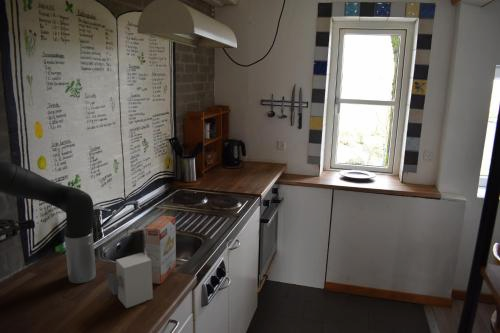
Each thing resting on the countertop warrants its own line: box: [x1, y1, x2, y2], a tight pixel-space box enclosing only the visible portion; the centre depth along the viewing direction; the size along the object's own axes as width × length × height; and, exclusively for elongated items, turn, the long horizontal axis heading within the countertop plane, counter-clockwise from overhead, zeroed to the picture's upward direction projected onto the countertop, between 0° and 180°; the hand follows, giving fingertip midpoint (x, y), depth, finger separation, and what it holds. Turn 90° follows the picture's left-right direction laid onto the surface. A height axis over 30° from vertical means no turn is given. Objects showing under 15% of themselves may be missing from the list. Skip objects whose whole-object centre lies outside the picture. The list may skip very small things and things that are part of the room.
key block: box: [115, 252, 154, 309], centre depth 126 cm, size 7×9×14 cm
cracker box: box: [145, 215, 177, 285], centre depth 141 cm, size 14×6×21 cm, turn 168°
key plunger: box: [106, 272, 123, 296], centre depth 123 cm, size 5×8×5 cm, turn 130°
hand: (34, 223), depth 106 cm, fingers closed
